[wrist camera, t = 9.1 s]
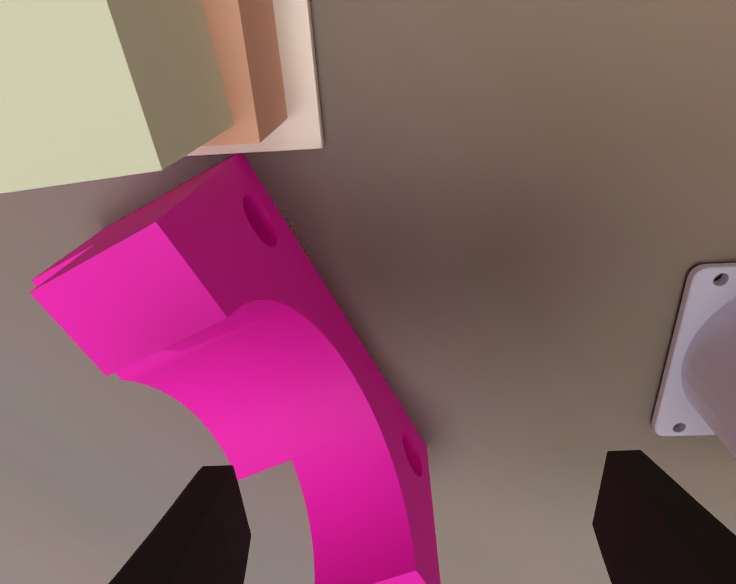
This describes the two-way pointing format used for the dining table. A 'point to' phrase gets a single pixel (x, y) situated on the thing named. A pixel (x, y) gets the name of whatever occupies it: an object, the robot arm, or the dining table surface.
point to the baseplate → (290, 86)
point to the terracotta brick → (247, 68)
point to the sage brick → (104, 89)
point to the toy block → (256, 363)
